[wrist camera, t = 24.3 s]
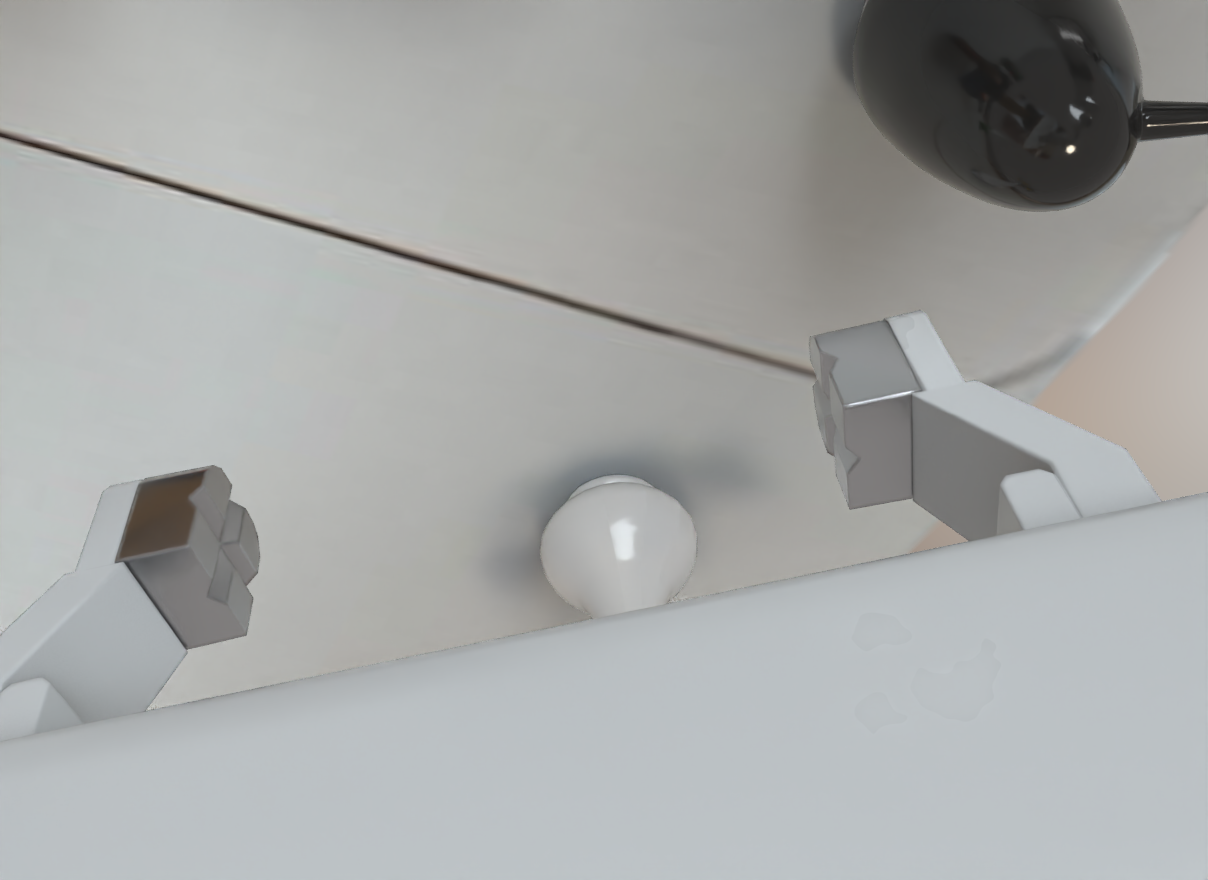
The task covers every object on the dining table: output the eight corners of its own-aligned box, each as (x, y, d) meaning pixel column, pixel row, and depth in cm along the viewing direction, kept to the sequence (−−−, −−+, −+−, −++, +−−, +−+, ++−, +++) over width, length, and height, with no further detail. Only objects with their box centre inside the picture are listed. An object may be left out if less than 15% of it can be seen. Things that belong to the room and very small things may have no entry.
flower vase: (800, 471, 68) (934, 854, 49) (577, 621, 75) (620, 1006, 56) (664, 351, 61) (761, 743, 42) (433, 529, 68) (426, 933, 49)
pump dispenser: (1052, 88, 53) (1217, 257, 42) (836, 137, 54) (940, 317, 42) (1070, -142, 47) (1272, -16, 35) (823, -83, 47) (942, 60, 36)
